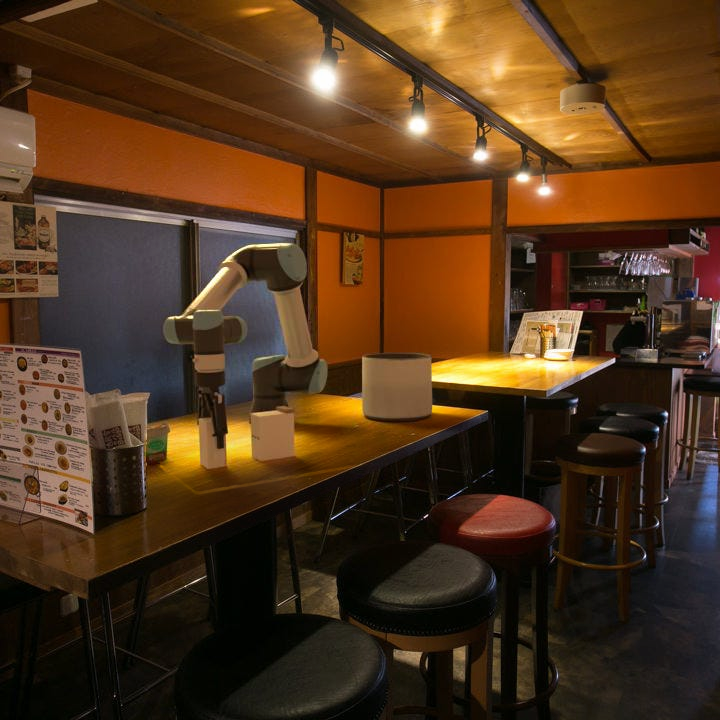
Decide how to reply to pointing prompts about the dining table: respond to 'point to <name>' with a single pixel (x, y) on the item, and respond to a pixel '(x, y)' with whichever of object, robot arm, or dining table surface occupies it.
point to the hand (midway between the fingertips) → (213, 456)
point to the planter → (396, 386)
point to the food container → (157, 444)
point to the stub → (208, 445)
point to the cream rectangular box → (273, 434)
